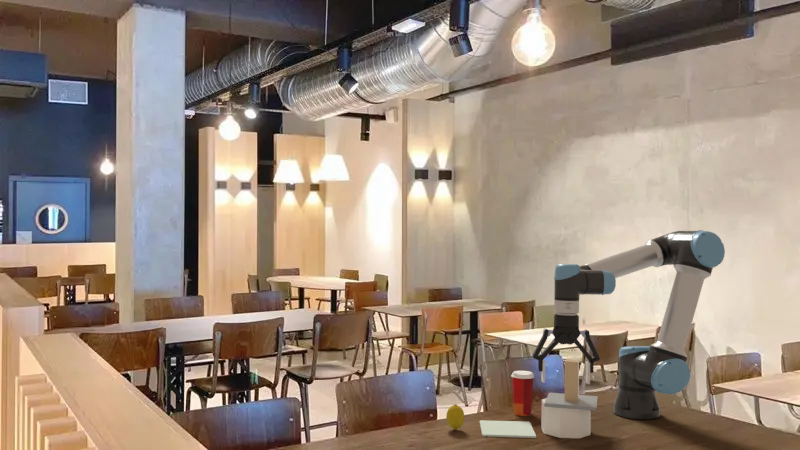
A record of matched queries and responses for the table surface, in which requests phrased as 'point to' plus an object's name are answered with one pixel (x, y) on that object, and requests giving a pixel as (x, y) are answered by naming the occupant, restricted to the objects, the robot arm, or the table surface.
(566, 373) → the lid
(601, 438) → the table surface
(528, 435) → the mat
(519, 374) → the paper cup
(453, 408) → the lemon
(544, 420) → the bowl
